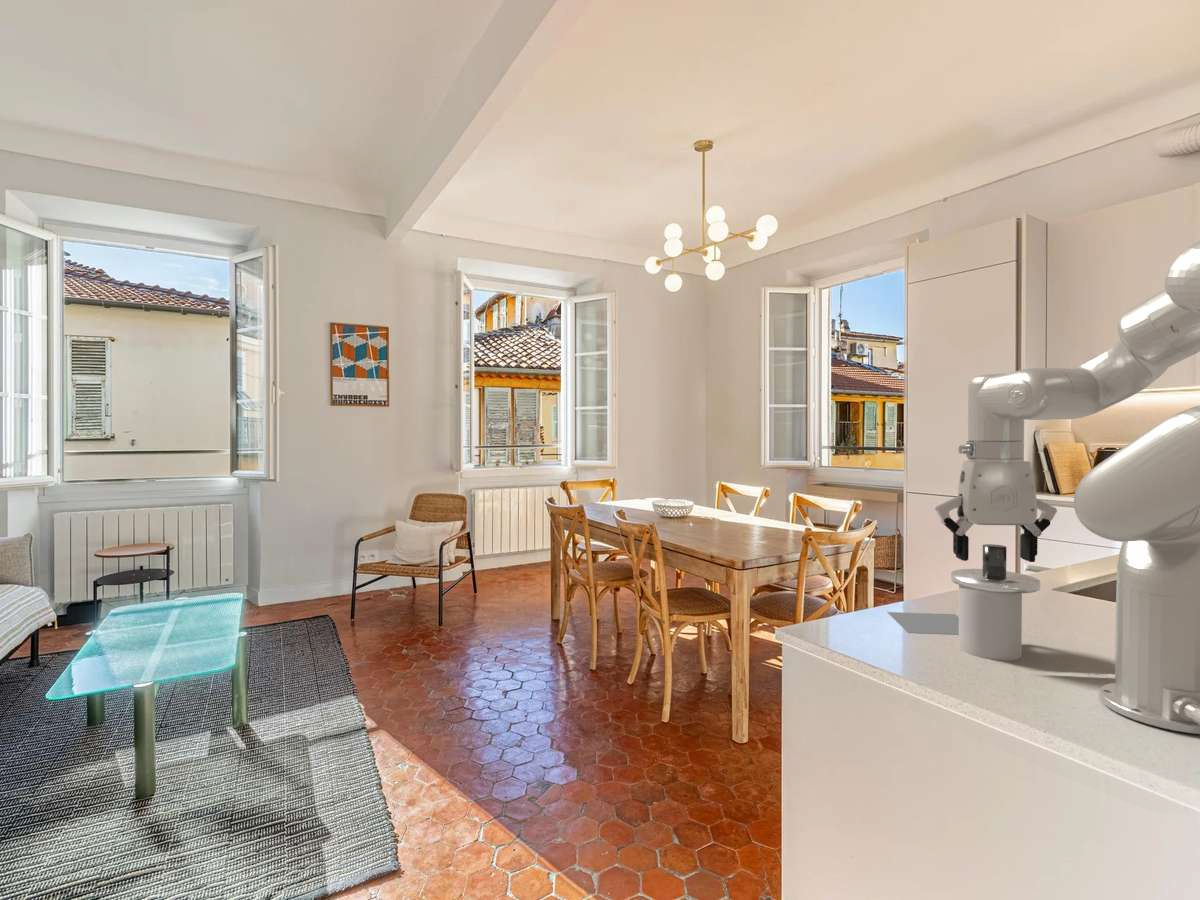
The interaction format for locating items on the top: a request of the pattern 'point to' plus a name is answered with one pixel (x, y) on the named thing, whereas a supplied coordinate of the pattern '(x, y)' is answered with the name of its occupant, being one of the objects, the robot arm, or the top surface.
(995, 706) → the top surface
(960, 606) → the mug
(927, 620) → the mat
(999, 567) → the lid
